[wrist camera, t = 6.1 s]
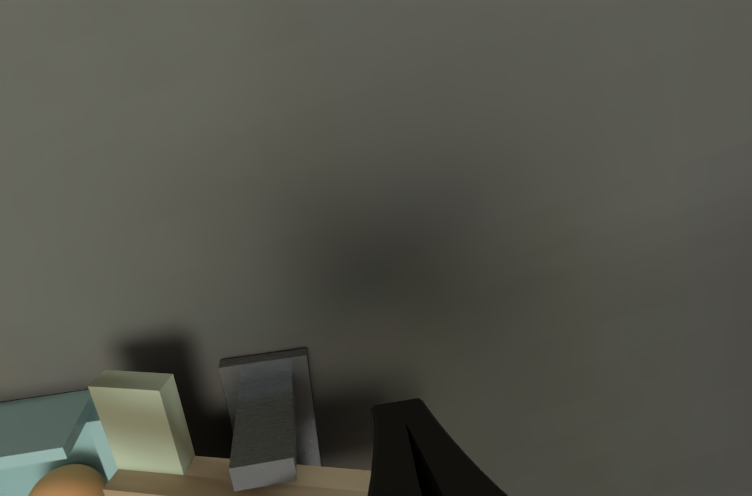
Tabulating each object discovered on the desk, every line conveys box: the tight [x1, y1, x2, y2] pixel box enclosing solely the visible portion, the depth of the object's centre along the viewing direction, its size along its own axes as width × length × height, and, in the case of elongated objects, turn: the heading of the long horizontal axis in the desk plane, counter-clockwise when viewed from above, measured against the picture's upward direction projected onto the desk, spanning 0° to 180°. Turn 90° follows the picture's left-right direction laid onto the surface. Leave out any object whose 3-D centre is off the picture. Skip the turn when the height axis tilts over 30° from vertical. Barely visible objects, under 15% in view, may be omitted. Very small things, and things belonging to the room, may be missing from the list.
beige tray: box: [88, 370, 371, 496], centre depth 19 cm, size 10×13×2 cm
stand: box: [219, 348, 321, 491], centre depth 22 cm, size 10×4×6 cm, turn 3°
